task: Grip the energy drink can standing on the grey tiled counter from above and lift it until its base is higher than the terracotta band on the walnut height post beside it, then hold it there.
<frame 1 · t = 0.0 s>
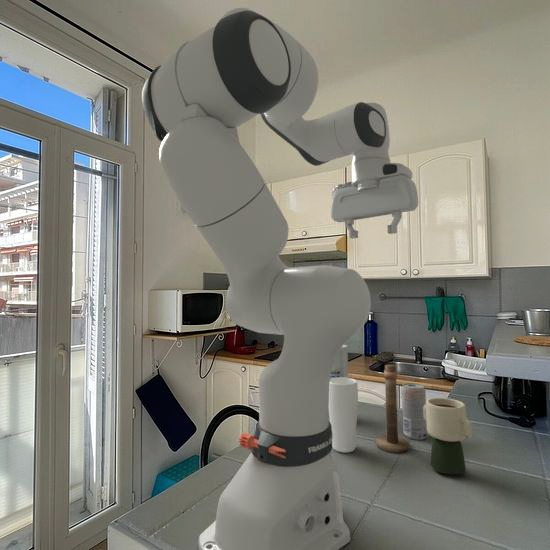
hand: (372, 235, 81), 48 cm above the countertop, tool pointing down, fingers open, 8 cm apart
energy drink: (415, 436, 85), on the countertop
height post: (392, 446, 79), on the countertop
character mug: (448, 471, 68), on the countertop
white tumbler: (343, 449, 78), on the countertop
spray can: (337, 418, 98), on the countertop
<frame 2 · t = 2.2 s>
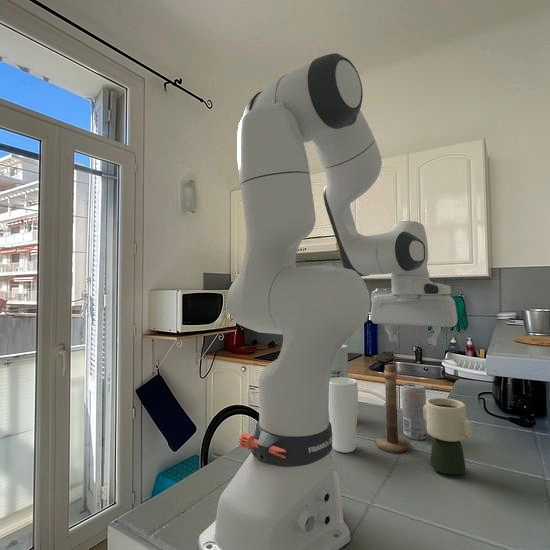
hand: (412, 343, 86), 22 cm above the countertop, tool pointing down, fingers open, 8 cm apart
nothing on the countertop moved.
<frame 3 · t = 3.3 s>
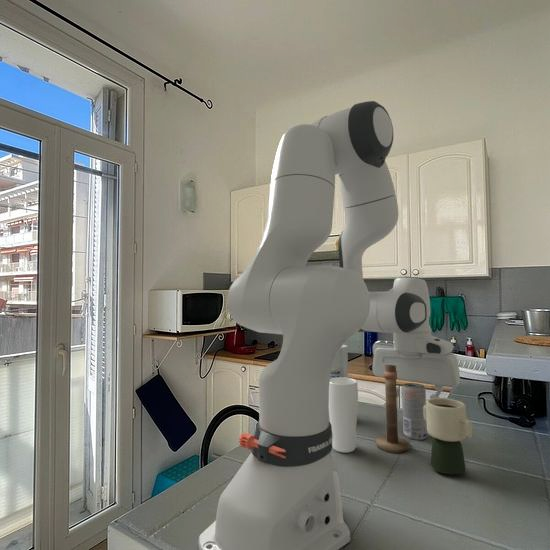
hand: (414, 399, 86), 9 cm above the countertop, tool pointing down, fingers open, 8 cm apart
nothing on the countertop moved.
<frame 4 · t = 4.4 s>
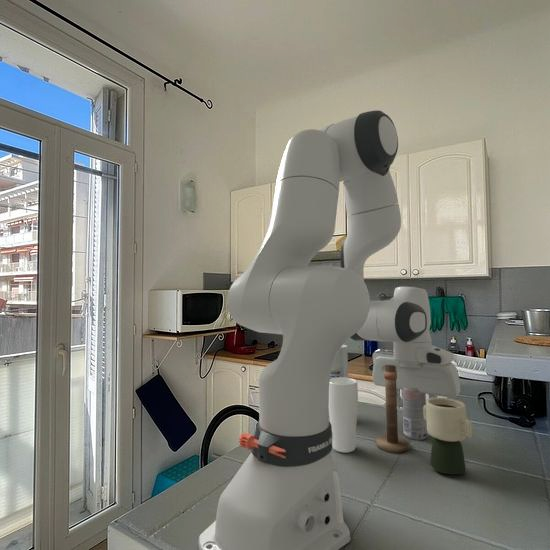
hand: (414, 409, 85), 6 cm above the countertop, tool pointing down, fingers closed on energy drink, 5 cm apart
energy drink: (415, 436, 85), on the countertop, touching gripper
everything else where it was.
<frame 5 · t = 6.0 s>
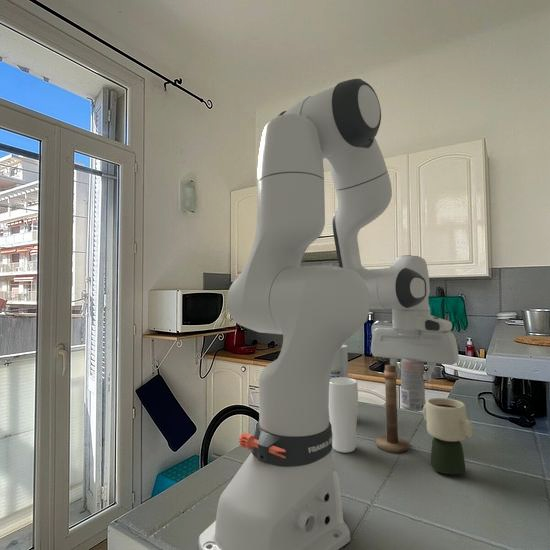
hand: (412, 378, 85), 14 cm above the countertop, tool pointing down, fingers closed on energy drink, 5 cm apart
energy drink: (413, 408, 85), point 7 cm above the countertop, touching gripper
everything else where it was.
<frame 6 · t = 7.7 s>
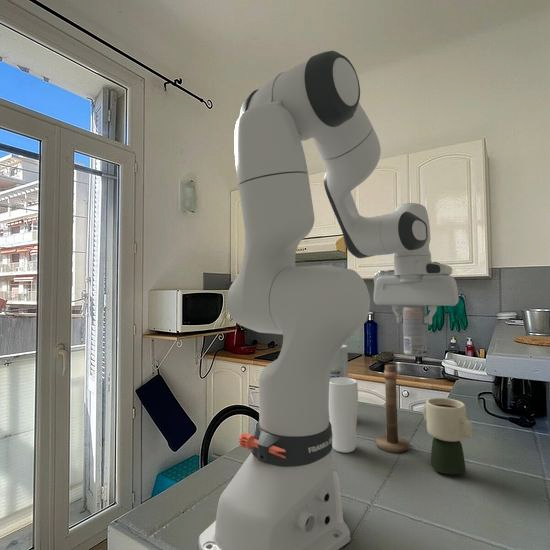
hand: (414, 323, 88), 27 cm above the countertop, tool pointing down, fingers closed on energy drink, 5 cm apart
energy drink: (415, 355, 88), point 19 cm above the countertop, touching gripper
everything else where it was.
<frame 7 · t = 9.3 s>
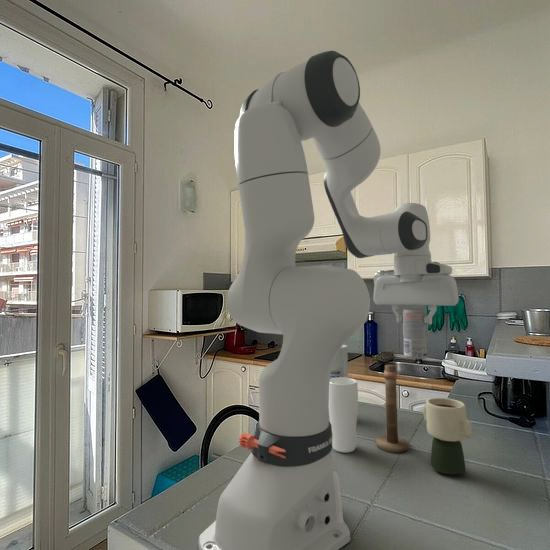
hand: (414, 323, 88), 27 cm above the countertop, tool pointing down, fingers closed on energy drink, 5 cm apart
energy drink: (415, 358, 88), point 18 cm above the countertop, touching gripper
everything else where it was.
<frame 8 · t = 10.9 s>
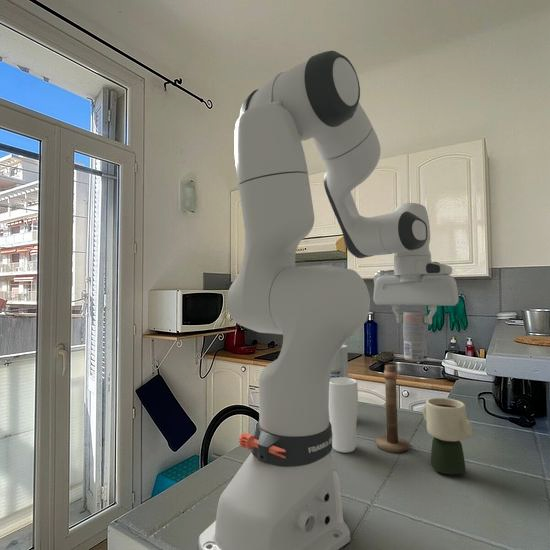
hand: (414, 323, 88), 27 cm above the countertop, tool pointing down, fingers closed on energy drink, 5 cm apart
energy drink: (415, 360, 87), point 18 cm above the countertop, touching gripper
everything else where it was.
at the end: the gripper is holding energy drink; energy drink point 17.7 cm above the countertop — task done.
